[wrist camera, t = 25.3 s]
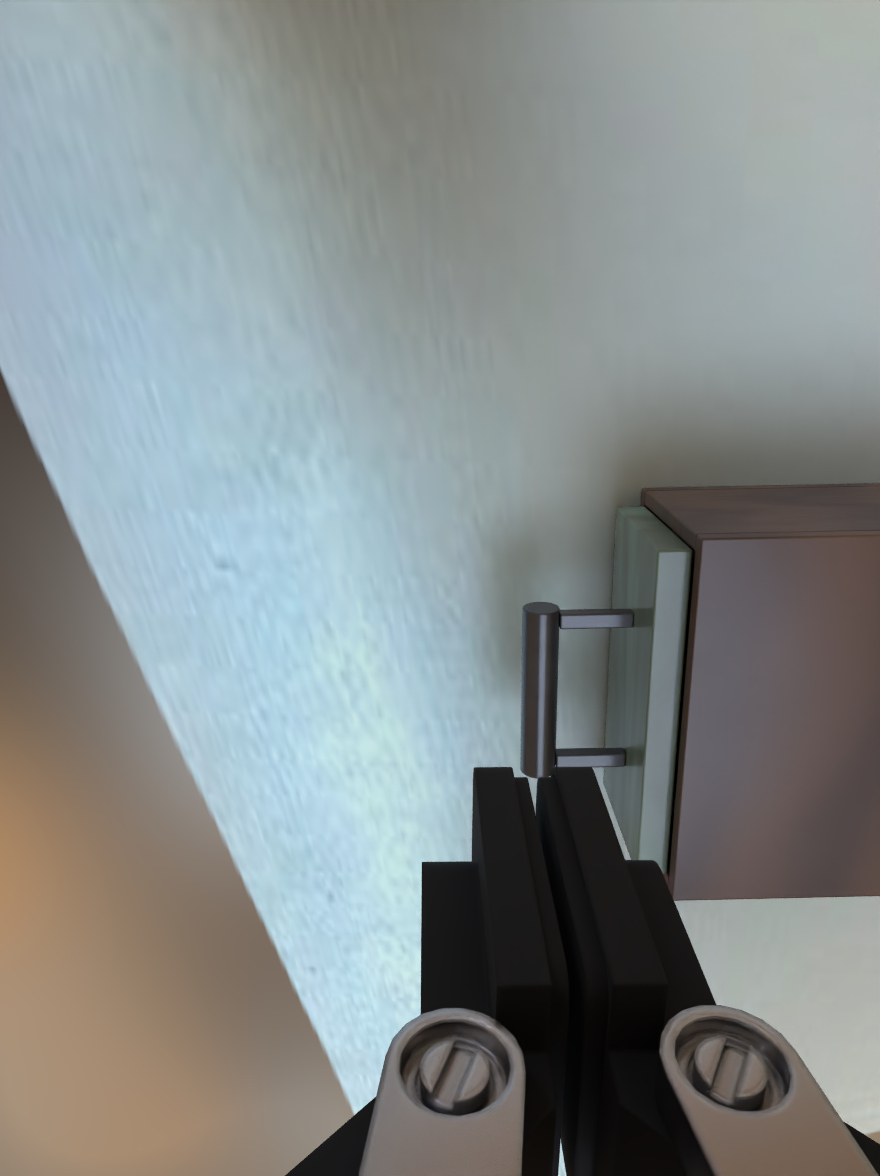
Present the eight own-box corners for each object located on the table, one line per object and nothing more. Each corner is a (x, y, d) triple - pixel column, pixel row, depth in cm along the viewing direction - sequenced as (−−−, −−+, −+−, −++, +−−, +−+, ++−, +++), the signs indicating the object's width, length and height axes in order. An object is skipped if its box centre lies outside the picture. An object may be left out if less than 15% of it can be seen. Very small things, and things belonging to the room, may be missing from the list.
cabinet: (624, 785, 39) (671, 901, 32) (641, 488, 35) (701, 538, 27) (924, 778, 39) (1045, 892, 32) (980, 480, 35) (1136, 529, 27)
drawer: (511, 785, 38) (527, 877, 32) (514, 508, 34) (532, 552, 28) (890, 777, 39) (980, 867, 32) (938, 499, 34) (1051, 542, 28)
